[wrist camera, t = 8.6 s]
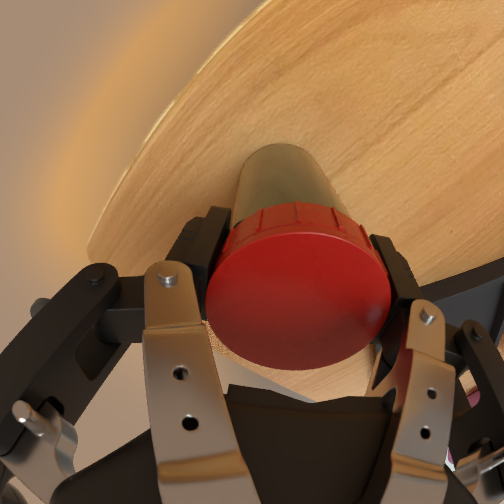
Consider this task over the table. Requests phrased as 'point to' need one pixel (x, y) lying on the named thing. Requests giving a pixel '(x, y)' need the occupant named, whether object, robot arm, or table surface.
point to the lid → (297, 288)
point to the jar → (282, 182)
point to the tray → (471, 298)
